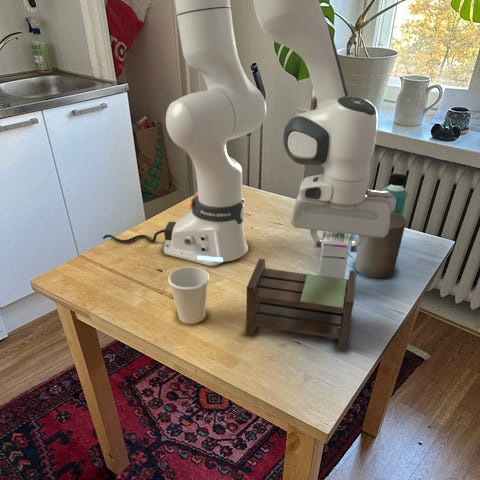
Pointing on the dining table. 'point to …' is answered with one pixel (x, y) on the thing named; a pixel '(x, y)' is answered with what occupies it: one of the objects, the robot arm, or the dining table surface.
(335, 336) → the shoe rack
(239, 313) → the dining table surface
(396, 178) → the beverage bottle
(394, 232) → the pillar candle
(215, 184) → the robot arm
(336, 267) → the syrup box
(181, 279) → the dixie cup
